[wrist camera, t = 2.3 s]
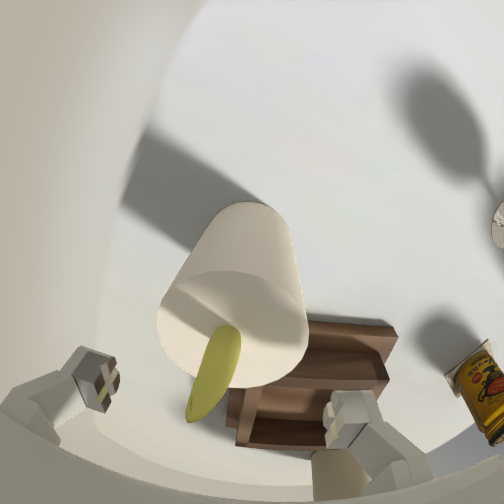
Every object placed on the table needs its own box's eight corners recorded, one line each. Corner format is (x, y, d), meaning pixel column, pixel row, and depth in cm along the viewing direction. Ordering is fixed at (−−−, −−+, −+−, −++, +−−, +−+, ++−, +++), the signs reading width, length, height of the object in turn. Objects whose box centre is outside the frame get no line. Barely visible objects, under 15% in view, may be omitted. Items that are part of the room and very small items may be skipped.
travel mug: (300, 459, 34) (302, 559, 17) (334, 437, 31) (346, 552, 14) (339, 464, 35) (348, 554, 18) (373, 443, 32) (391, 543, 15)
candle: (261, 297, 22) (249, 482, 9) (190, 253, 21) (96, 420, 8) (311, 236, 20) (373, 419, 6) (235, 184, 19) (152, 315, 5)
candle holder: (240, 312, 23) (234, 353, 19) (393, 327, 23) (411, 363, 18) (227, 416, 29) (221, 450, 25) (339, 423, 29) (344, 455, 25)
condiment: (488, 338, 24) (534, 405, 13) (494, 366, 26) (529, 424, 15) (443, 374, 26) (479, 449, 15) (456, 397, 28) (484, 459, 17)
